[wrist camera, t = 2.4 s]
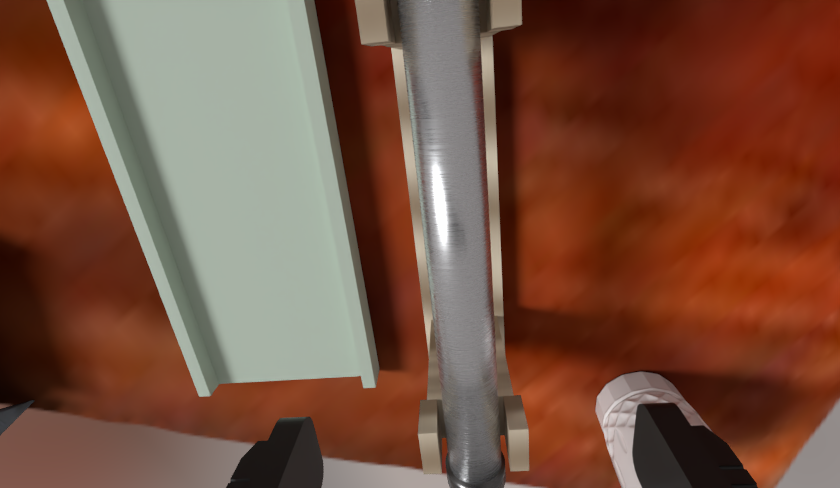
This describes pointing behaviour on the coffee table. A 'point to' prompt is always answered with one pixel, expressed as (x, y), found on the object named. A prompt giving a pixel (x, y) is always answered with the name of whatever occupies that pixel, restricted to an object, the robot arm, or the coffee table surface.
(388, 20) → the rack
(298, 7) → the mat tray
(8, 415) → the grey mechanical device
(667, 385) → the white cup
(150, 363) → the coffee table surface
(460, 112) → the steel rod
